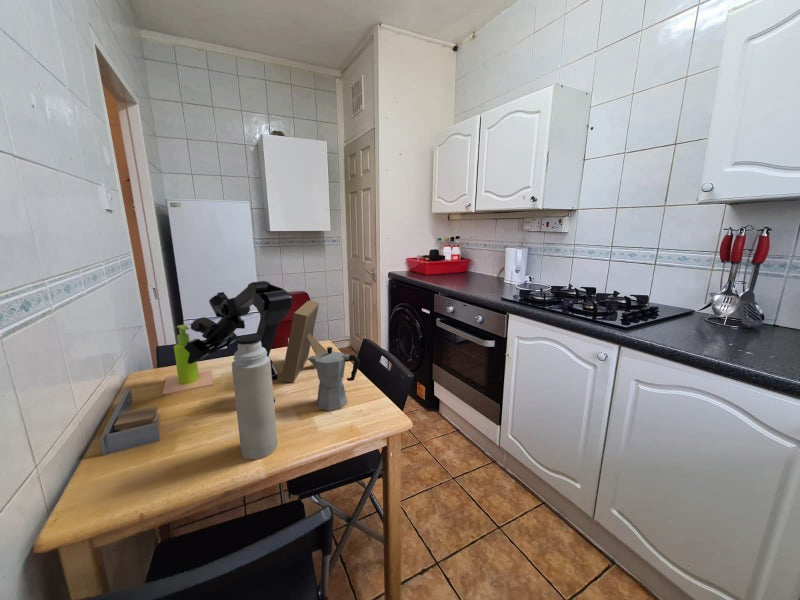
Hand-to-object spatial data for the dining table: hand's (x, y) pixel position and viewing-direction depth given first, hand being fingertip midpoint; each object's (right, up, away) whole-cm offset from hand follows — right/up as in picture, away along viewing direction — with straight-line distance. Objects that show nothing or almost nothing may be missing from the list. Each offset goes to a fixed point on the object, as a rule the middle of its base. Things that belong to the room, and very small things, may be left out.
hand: (199, 357), depth 109 cm
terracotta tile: (-5, -9, +3) cm, 11 cm away
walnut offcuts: (0, -14, -24) cm, 28 cm away
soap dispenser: (-5, -9, +2) cm, 10 cm away
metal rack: (-3, -14, -20) cm, 24 cm away
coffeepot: (+49, -12, -11) cm, 52 cm away
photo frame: (+34, -7, +13) cm, 37 cm away
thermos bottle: (+35, -16, -32) cm, 50 cm away
